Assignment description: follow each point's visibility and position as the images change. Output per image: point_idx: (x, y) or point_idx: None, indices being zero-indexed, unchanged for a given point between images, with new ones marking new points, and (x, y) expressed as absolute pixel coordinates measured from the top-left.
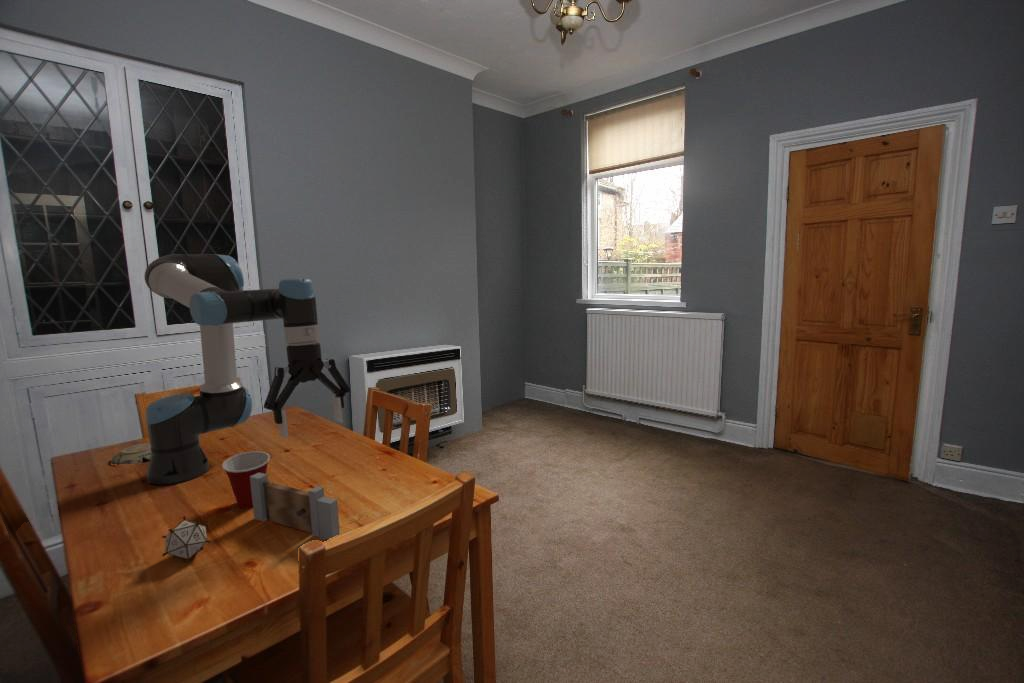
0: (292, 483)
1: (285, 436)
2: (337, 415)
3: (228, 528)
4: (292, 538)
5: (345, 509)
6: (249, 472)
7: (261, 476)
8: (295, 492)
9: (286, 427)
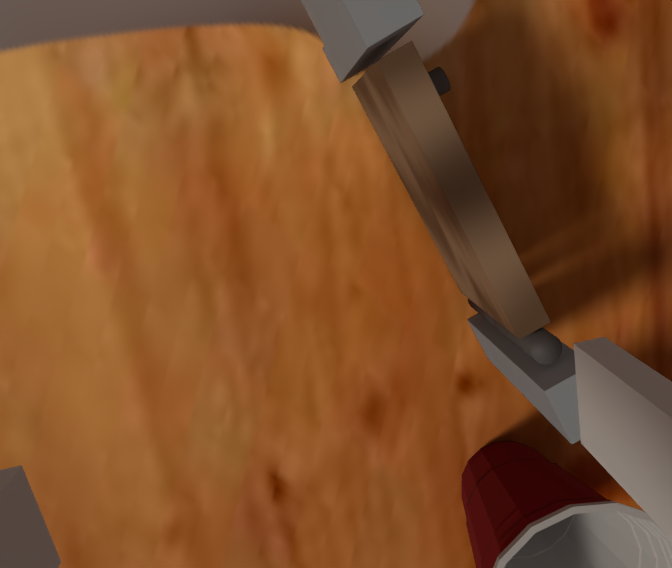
0: (336, 555)
1: (607, 342)
2: (1, 559)
3: (606, 324)
4: (444, 96)
5: (206, 197)
6: (588, 502)
7: (574, 383)
8: (456, 140)
9: (642, 387)
